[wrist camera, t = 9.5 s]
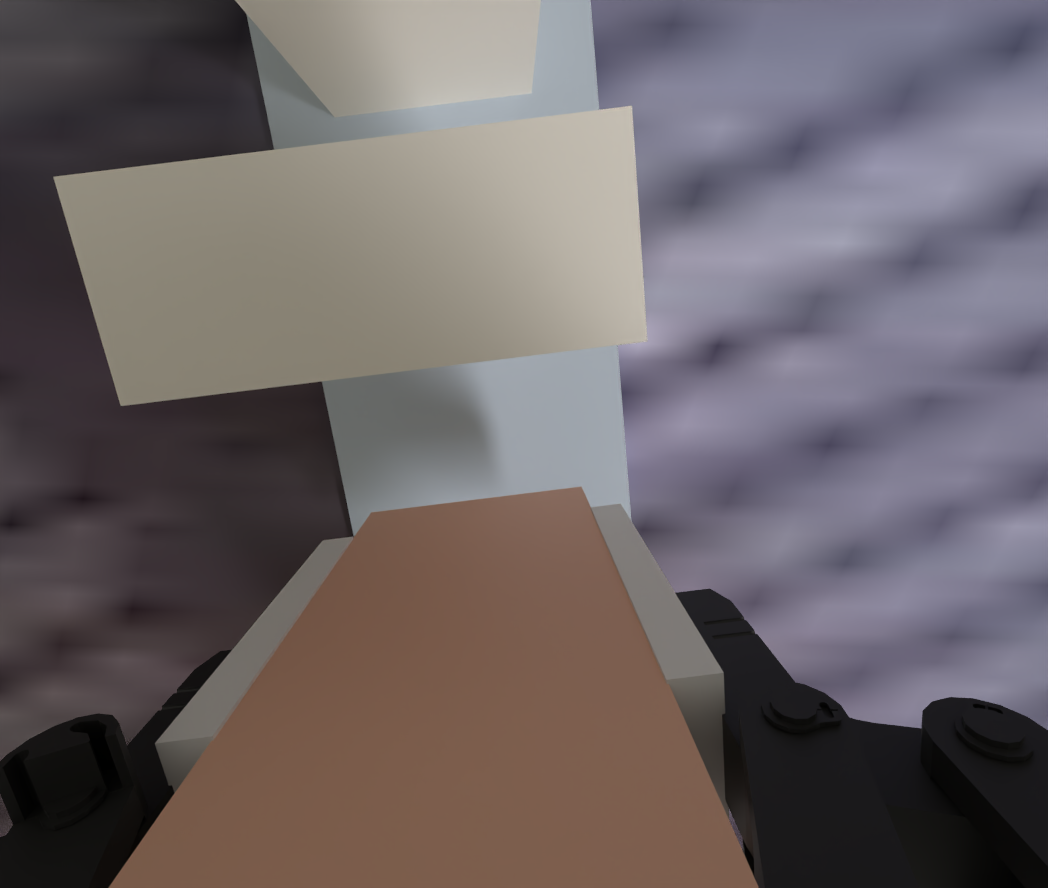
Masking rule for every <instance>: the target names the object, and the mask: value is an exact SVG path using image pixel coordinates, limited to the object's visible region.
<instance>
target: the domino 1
mask: <svg viewBox="0 0 1048 888" xmlns="http://www.w3.org/2000/svg"><path fill="white" fill-rule="evenodd" d="M53 178H54V181H55V185H56V188H57V191H58V195H59V198H60V202H61V205H62V208H63V212H64V215H65V219H66V222H67V225H68V229H69V232H70V236H71V239H72V242H73V246H74V249H75V253H76V256H77V259H78V263H79V266H80V270H81V273H82V276H83V280H84V283H85V286H86V290H87V293H88V297H89V300H90V303H91V307H92V310H93V314H94V317H95V320H96V324H97V327H98V331H99V334H100V337H101V341H102V344H103V348H104V351H105V354H106V358H107V361H108V365H109V368H110V371H111V375H112V378H113V382H114V385H115V388H116V392H117V395H118V399H119V402H120V405H121V406H126V405H134V404H142V403H150V402H158V401H166V400H174V399H183V398H191V397H199V396H207V395H215V394H223V393H231V392H240V391H248V390H256V389H264V388H272V387H280V386H288V385H297V384H305V383H313V382H321V381H329V380H337V379H345V378H354V377H362V376H370V375H378V374H386V373H394V372H402V371H411V370H419V369H427V368H435V367H443V366H451V365H459V364H467V363H476V362H484V361H492V360H500V359H508V358H516V357H524V356H533V355H541V354H549V353H557V352H565V351H573V350H581V349H590V348H598V347H606V346H614V345H622V344H630V343H638V342H647V328H646V313H645V298H644V283H643V267H642V252H641V237H640V222H639V207H638V192H637V176H636V161H635V146H634V131H633V116H632V106H627V107H619V108H610V109H602V110H594V111H586V112H578V113H570V114H562V115H553V116H545V117H537V118H529V119H521V120H513V121H504V122H496V123H488V124H480V125H472V126H464V127H456V128H447V129H439V130H431V131H423V132H415V133H407V134H398V135H390V136H382V137H374V138H366V139H358V140H350V141H341V142H333V143H325V144H317V145H309V146H301V147H292V148H284V149H276V150H268V151H260V152H252V153H244V154H235V155H227V156H219V157H211V158H203V159H195V160H186V161H178V162H170V163H162V164H154V165H146V166H138V167H129V168H121V169H113V170H105V171H97V172H89V173H80V174H72V175H64V176H56V177H53Z"/></svg>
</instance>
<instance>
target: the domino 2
mask: <svg viewBox="0 0 1048 888" xmlns="http://www.w3.org/2000/svg"><path fill="white" fill-rule="evenodd" d="M109 888H759V887H758V885H757V882H756V880H755V878H754V876H753V873H752V871H751V869H750V867H749V864H748V862H747V860H746V857H745V855H744V853H743V851H742V848H741V846H740V844H739V842H738V839H737V837H736V835H735V833H734V830H733V828H732V826H731V824H730V821H729V819H728V817H727V814H726V812H725V810H724V808H723V805H722V803H721V801H720V799H719V796H718V794H717V792H716V790H715V787H714V785H713V783H712V781H711V778H710V776H709V774H708V771H707V769H706V767H705V765H704V762H703V760H702V758H701V756H700V753H699V751H698V749H697V747H696V744H695V742H694V740H693V738H692V735H691V733H690V731H689V728H688V726H687V724H686V722H685V719H684V717H683V715H682V713H681V710H680V708H679V706H678V704H677V701H676V699H675V697H674V695H673V692H672V690H671V688H670V685H669V684H667V683H666V681H665V679H664V677H663V674H662V672H661V670H660V667H659V665H658V663H657V660H656V658H655V656H654V654H653V651H652V649H651V647H650V644H649V642H648V640H647V638H646V635H645V633H644V631H643V628H642V626H641V624H640V621H639V619H638V617H637V615H636V612H635V610H634V608H633V605H632V603H631V601H630V598H629V596H628V594H627V592H626V589H625V587H624V585H623V582H622V580H621V578H620V576H619V573H618V571H617V569H616V566H615V564H614V562H613V559H612V557H611V555H610V553H609V550H608V548H607V546H606V543H605V541H604V539H603V536H602V534H601V532H600V530H599V527H598V525H597V523H596V520H595V518H594V516H593V514H592V511H591V507H590V504H589V502H588V500H587V498H586V495H585V493H584V491H583V489H582V487H573V488H565V489H557V490H549V491H541V492H533V493H525V494H517V495H509V496H500V497H492V498H484V499H476V500H468V501H460V502H452V503H444V504H435V505H427V506H419V507H411V508H403V509H395V510H387V511H379V512H371V513H370V515H369V516H368V518H367V519H366V521H365V522H364V523H363V525H362V526H361V528H360V529H359V531H358V532H357V533H356V535H355V536H354V538H353V540H352V542H351V543H350V545H349V546H348V548H347V549H346V550H345V552H344V553H343V555H342V556H341V558H340V559H339V560H338V562H337V563H336V565H335V566H334V568H333V569H332V571H331V572H330V573H329V575H328V576H327V578H326V579H325V581H324V582H323V583H322V585H321V586H320V588H319V589H318V591H317V592H316V594H315V595H314V596H313V598H312V599H311V601H310V602H309V604H308V605H307V607H306V608H305V609H304V611H303V612H302V614H301V615H300V617H299V618H298V619H297V621H296V622H295V624H294V625H293V627H292V628H291V630H290V631H289V632H288V634H287V635H286V637H285V638H284V640H283V641H282V643H281V644H280V645H279V647H278V648H277V650H276V651H275V653H274V654H273V655H272V657H271V658H270V660H269V661H268V663H267V664H266V666H265V667H264V668H263V670H262V671H261V673H260V674H259V676H258V677H257V679H256V680H255V681H254V683H253V684H252V686H251V687H250V689H249V690H248V691H247V693H246V694H245V696H244V697H243V699H242V700H241V702H240V703H239V704H238V706H237V707H236V709H235V710H234V712H233V713H232V715H231V716H230V717H229V719H228V720H227V722H226V723H225V725H224V726H223V727H222V729H221V730H220V732H219V733H218V735H217V736H216V738H215V739H214V740H213V741H211V742H210V743H209V745H208V746H207V748H206V749H205V751H204V752H203V753H202V755H201V756H200V758H199V759H198V761H197V762H196V763H195V765H194V766H193V768H192V769H191V771H190V772H189V773H188V775H187V776H186V778H185V779H184V781H183V782H182V783H181V785H180V786H179V788H178V789H177V791H176V792H175V793H174V795H173V796H172V798H171V799H170V801H169V802H168V803H167V805H166V806H165V808H164V809H163V811H162V812H161V813H160V815H159V816H158V818H157V819H156V821H155V822H154V823H153V825H152V826H151V828H150V829H149V831H148V832H147V833H146V835H145V836H144V838H143V839H142V841H141V842H140V843H139V845H138V846H137V848H136V849H135V851H134V852H133V853H132V855H131V856H130V858H129V859H128V861H127V862H126V863H125V865H124V866H123V868H122V869H121V871H120V872H119V873H118V875H117V876H116V878H115V879H114V881H113V882H112V883H111V885H110V886H109Z"/></svg>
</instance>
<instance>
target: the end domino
mask: <svg viewBox="0 0 1048 888" xmlns="http://www.w3.org/2000/svg"><path fill="white" fill-rule="evenodd" d="M235 1H236V2H237V3H238V4H239V6H240V7H241V8H242V9H243V10H244V11H245V13H246V14H247V15H248V16H249V17H250V19H251V20H252V21H253V22H254V23H255V24H256V26H257V27H258V28H259V29H260V30H261V31H262V33H263V34H264V35H265V36H266V37H267V38H268V40H269V41H270V42H271V43H272V44H273V46H274V47H275V48H276V49H277V50H278V51H279V53H280V54H281V55H282V56H283V57H284V58H285V60H286V61H287V62H288V63H289V64H290V65H291V67H292V68H293V69H294V70H295V71H296V72H297V74H298V75H299V76H300V77H301V78H302V80H303V81H304V82H305V83H306V84H307V85H308V87H309V88H310V89H311V90H312V91H313V92H314V94H315V95H316V96H317V97H318V98H319V99H320V101H321V102H322V103H323V104H324V105H325V107H326V108H327V109H328V110H329V111H330V112H331V114H332V115H333V116H334V117H343V116H351V115H359V114H367V113H376V112H384V111H392V110H400V109H408V108H416V107H424V106H433V105H441V104H449V103H457V102H465V101H473V100H482V99H490V98H498V97H506V96H514V95H522V94H530V93H532V84H533V74H534V64H535V54H536V44H537V34H538V24H539V14H540V4H541V0H235Z"/></svg>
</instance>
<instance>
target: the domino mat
mask: <svg viewBox="0 0 1048 888" xmlns="http://www.w3.org/2000/svg"><path fill="white" fill-rule="evenodd" d="M246 15H247V14H246ZM247 20H248V25H249V29H250V34H251V39H252V44H253V49H254V54H255V59H256V63H257V68H258V73H259V78H260V83H261V88H262V93H263V97H264V102H265V107H266V112H267V117H268V122H269V127H270V132H271V136H272V141H273V146H274V150H276V149H284V148H292V147H301V146H309V145H317V144H325V143H333V142H341V141H350V140H358V139H366V138H374V137H382V136H390V135H398V134H407V133H415V132H423V131H431V130H439V129H447V128H456V127H464V126H472V125H480V124H488V123H496V122H504V121H513V120H521V119H529V118H537V117H545V116H553V115H562V114H570V113H578V112H586V111H594V110H599V103H598V90H597V77H596V64H595V52H594V39H593V26H592V13H591V1H590V0H541V4H540V14H539V24H538V34H537V44H536V54H535V64H534V74H533V84H532V93H530V94H522V95H514V96H506V97H498V98H490V99H482V100H473V101H465V102H457V103H449V104H441V105H433V106H424V107H416V108H408V109H400V110H392V111H384V112H376V113H367V114H359V115H351V116H343V117H334V116H333V115H332V114H331V112H330V111H329V110H328V109H327V108H326V107H325V105H324V104H323V103H322V102H321V101H320V99H319V98H318V97H317V96H316V95H315V94H314V92H313V91H312V90H311V89H310V88H309V87H308V85H307V84H306V83H305V82H304V81H303V80H302V78H301V77H300V76H299V75H298V74H297V72H296V71H295V70H294V69H293V68H292V67H291V65H290V64H289V63H288V62H287V61H286V60H285V58H284V57H283V56H282V55H281V54H280V53H279V51H278V50H277V49H276V48H275V47H274V46H273V44H272V43H271V42H270V41H269V40H268V38H267V37H266V36H265V35H264V34H263V33H262V31H261V30H260V29H259V28H258V27H257V26H256V24H255V23H254V22H253V21H252V20H251V19H250V17H249V16H248V15H247ZM322 384H323V389H324V394H325V399H326V404H327V409H328V414H329V418H330V423H331V428H332V433H333V438H334V443H335V448H336V453H337V457H338V462H339V467H340V472H341V477H342V482H343V487H344V491H345V496H346V501H347V506H348V511H349V516H350V521H351V525H352V530H353V535H354V536H355V535H356V533H357V532H358V531H359V529H360V528H361V526H362V525H363V523H364V522H365V521H366V519H367V518H368V516H369V515H370V513H371V512H379V511H387V510H395V509H403V508H411V507H419V506H427V505H435V504H444V503H452V502H460V501H468V500H476V499H484V498H492V497H500V496H509V495H517V494H525V493H533V492H541V491H549V490H557V489H565V488H573V487H582V489H583V491H584V493H585V495H586V498H587V500H588V502H589V504H590V507H597V506H605V505H613V504H621V505H622V507H623V508H624V510H625V512H626V513H627V515H628V517H629V518H630V520H631V510H630V498H629V485H628V472H627V460H626V447H625V434H624V421H623V409H622V396H621V383H620V370H619V358H618V345H614V346H606V347H598V348H590V349H581V350H573V351H565V352H557V353H549V354H541V355H533V356H524V357H516V358H508V359H500V360H492V361H484V362H476V363H467V364H459V365H451V366H443V367H435V368H427V369H419V370H411V371H402V372H394V373H386V374H378V375H370V376H362V377H354V378H345V379H337V380H329V381H322Z"/></svg>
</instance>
